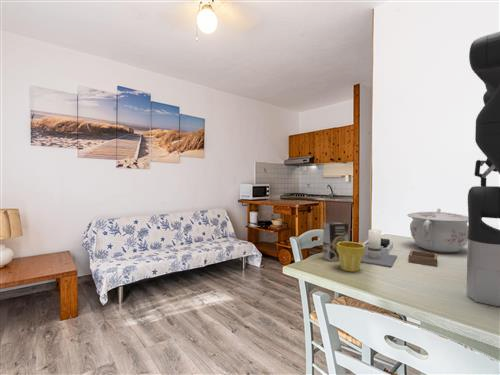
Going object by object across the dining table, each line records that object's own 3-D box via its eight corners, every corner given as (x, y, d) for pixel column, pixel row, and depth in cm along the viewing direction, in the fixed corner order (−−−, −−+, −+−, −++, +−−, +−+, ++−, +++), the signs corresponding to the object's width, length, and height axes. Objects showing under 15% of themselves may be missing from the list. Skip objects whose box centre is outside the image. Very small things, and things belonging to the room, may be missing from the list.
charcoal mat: (391, 267, 106) (391, 266, 106) (349, 260, 115) (349, 259, 115) (396, 256, 121) (396, 255, 121) (359, 251, 130) (359, 250, 130)
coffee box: (330, 261, 114) (330, 224, 113) (322, 257, 120) (322, 222, 119) (348, 260, 116) (349, 223, 116) (340, 256, 122) (340, 221, 122)
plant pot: (369, 269, 104) (369, 244, 104) (356, 275, 97) (356, 249, 97) (344, 263, 112) (345, 240, 112) (331, 268, 105) (331, 243, 105)
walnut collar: (437, 266, 107) (437, 259, 107) (408, 262, 113) (408, 255, 113) (437, 260, 115) (437, 253, 115) (410, 256, 121) (410, 250, 121)
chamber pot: (446, 243, 148) (446, 205, 147) (489, 257, 120) (490, 211, 119) (395, 242, 148) (395, 205, 147) (426, 257, 121) (427, 211, 120)
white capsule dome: (379, 259, 114) (379, 232, 114) (366, 257, 117) (366, 230, 117) (381, 257, 119) (382, 230, 118) (369, 254, 122) (369, 229, 121)
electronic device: (369, 251, 131) (369, 241, 131) (373, 246, 140) (373, 237, 140) (386, 253, 127) (386, 243, 127) (389, 249, 136) (389, 239, 136)
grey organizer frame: (388, 254, 126) (388, 248, 125) (361, 250, 132) (361, 245, 132) (392, 247, 139) (393, 242, 138) (368, 243, 146) (368, 239, 145)
